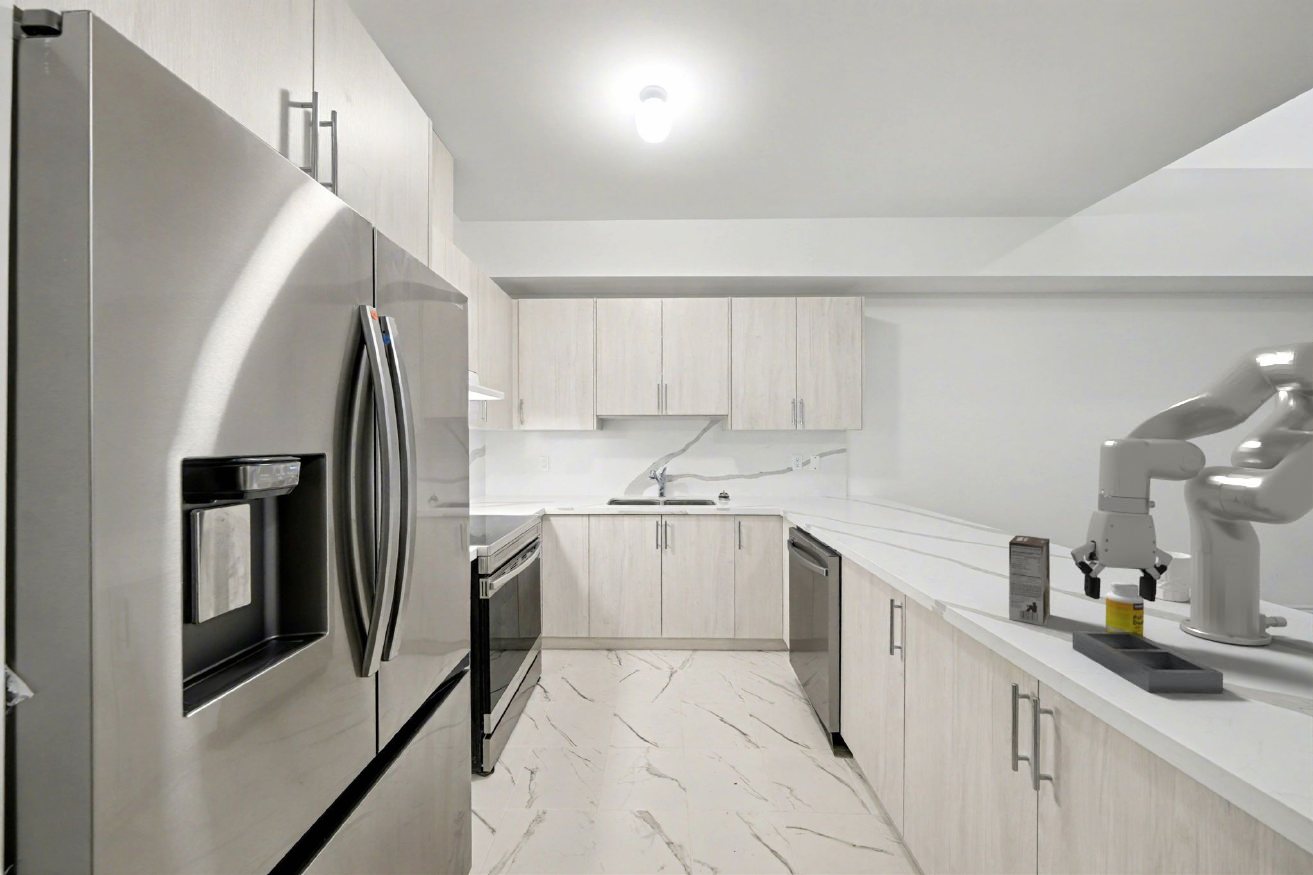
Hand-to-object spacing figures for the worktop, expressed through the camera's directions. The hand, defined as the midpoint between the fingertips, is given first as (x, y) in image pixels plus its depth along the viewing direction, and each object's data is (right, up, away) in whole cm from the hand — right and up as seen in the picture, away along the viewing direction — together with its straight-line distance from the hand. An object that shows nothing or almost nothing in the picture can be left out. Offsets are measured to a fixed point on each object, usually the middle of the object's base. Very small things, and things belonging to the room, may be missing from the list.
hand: (1119, 598), depth 112 cm
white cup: (+32, -7, +26) cm, 42 cm away
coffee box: (-8, -8, +14) cm, 18 cm away
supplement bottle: (+1, -8, 0) cm, 8 cm away
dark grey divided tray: (-7, -8, -13) cm, 17 cm away
